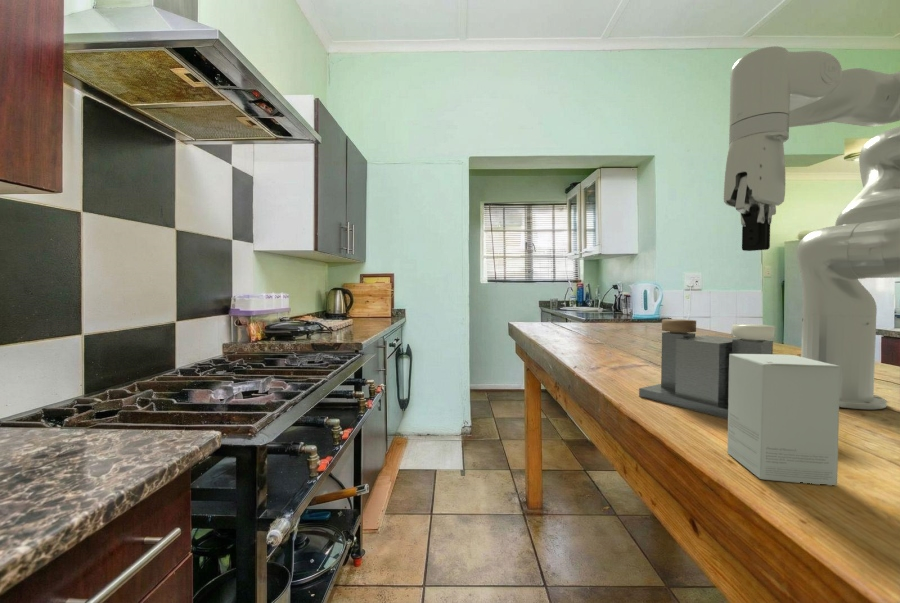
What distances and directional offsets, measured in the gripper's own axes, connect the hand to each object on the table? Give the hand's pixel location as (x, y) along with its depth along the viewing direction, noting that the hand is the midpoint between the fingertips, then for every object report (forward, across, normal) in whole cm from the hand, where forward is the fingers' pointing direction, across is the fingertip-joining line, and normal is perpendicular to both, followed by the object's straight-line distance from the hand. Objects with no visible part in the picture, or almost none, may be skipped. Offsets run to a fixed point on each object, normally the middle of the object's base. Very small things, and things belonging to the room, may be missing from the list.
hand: (755, 249), depth 63 cm
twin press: (+27, 0, -6) cm, 27 cm away
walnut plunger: (+24, 0, -12) cm, 27 cm away
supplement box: (+27, +20, +11) cm, 35 cm away
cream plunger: (+24, 0, 0) cm, 24 cm away
